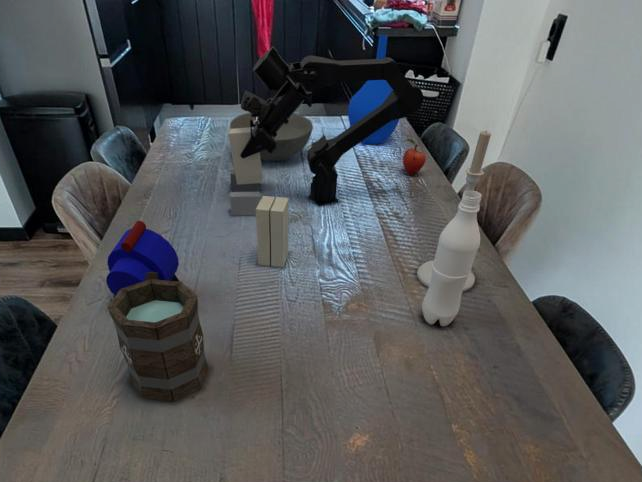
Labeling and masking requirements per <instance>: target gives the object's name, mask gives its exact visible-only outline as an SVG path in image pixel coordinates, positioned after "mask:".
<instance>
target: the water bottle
mask: <svg viewBox="0 0 642 482" xmlns="http://www.w3.org/2000/svg"><path fill="white" fill-rule="evenodd" d="M463 193H464V194H463ZM463 193H462V197H461V200H462V201H461V200H460V202H459V204H458V206H457V208H458V209H459V210H458V209H457V212H456V214H455V215H454V216H453V218H452V219H451V220H450V221H449V222H448V224H447V225H445V227H444V228H443V229H442V231H441V232H440V235H439V237H438V241H437V242H438V243H437V247H436V251H435V255H434V259H433V260H434V263H433V265H432V276H431V281H430V285H429V287H427V291H426V293H425V296H424V298H423V299H422V304H421V313H422V316H423V318H424V320H425V322H426V323H428V324H429V325H434V324H435V323H436V322H437V321H439V326H441V327H446V326H449V325H450V324H451V323H452V322H453V320H454V319H455V318H456V316H457V315H458V313H459V311H460V307H461V299H462V294H463V292H464V291H463V288H464V285H465V282H466V280H467V278H468V276H469V274H470V273H471V271H472V269H473V265H474V262H475V259H476V256H477V253H478V250H479V248H480V244H481V233H480V228H479V223H478V212H480V209H481V208H480V206H481V201H482V197H483V196H482V195H483V194H482V193H480V192H479V191H475V190H474V191H465V192H464V191H463ZM462 291H463V292H462Z"/></svg>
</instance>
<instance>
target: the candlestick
mask: <svg viewBox="0 0 642 482" xmlns="http://www.w3.org/2000/svg"><path fill="white" fill-rule="evenodd" d="M491 136H492V133H491V132H489V131H488V130H487V129H486V130H484V131H479V135H478V139H477V142H476V145H475V150H474V153H473V157H472V161H471V164H470V167H469V168H466V169H465V170H464V171H465V173H466V176H465V181H466V187H465V189H464V190H463V193H462V195H463V194H464V192H465V191H475V188H476V186H477V184H478V183H480V182H481V181H480V180H481V177H482V176H483V175H485V171H484V170H482V167H483V164H484V161H485V157H486V154H487V150H488V146H489V143H490V139H491ZM461 201H462V199H461V200H460V202H461ZM458 210H459V208H458V209H457V211H458ZM433 263H434V259H432V260H429V261H426V262H424V263H422V264H421V265H420V266H419V267H418V269H417V272H416V276H417V279H418V281H419V282H420V283H421V284H423V285H424V286H426V287H427V288H429V285H430V281H431V276H432V265H433ZM475 282H476V277H475V275H474V273H473V271H472V270H471V273H470V274H469V276H468V278H467V280H466V282H465V285H464V288H463V291H462V293H463V292H466V291H469V290H470V289H471V288H473V286H474V284H475Z"/></svg>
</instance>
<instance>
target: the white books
mask: <svg viewBox="0 0 642 482" xmlns="http://www.w3.org/2000/svg"><path fill="white" fill-rule="evenodd" d="M255 219H256V221H255V222H256V242H257V243H256V244H257V245H256V246H257V265H258V266H267V267H270V266H271V267H274V268H284V266H285V264H286V261H287V259H288V255H289V247H290V246H289V245H290V244H289V241H290V240H289V238H290V236H289V232H290V231H289V230H290V227H289V226H290V198H289V197H281V196H270V195H261V200H260V202H259V204H258V206H257V208H256V215H255Z"/></svg>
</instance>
